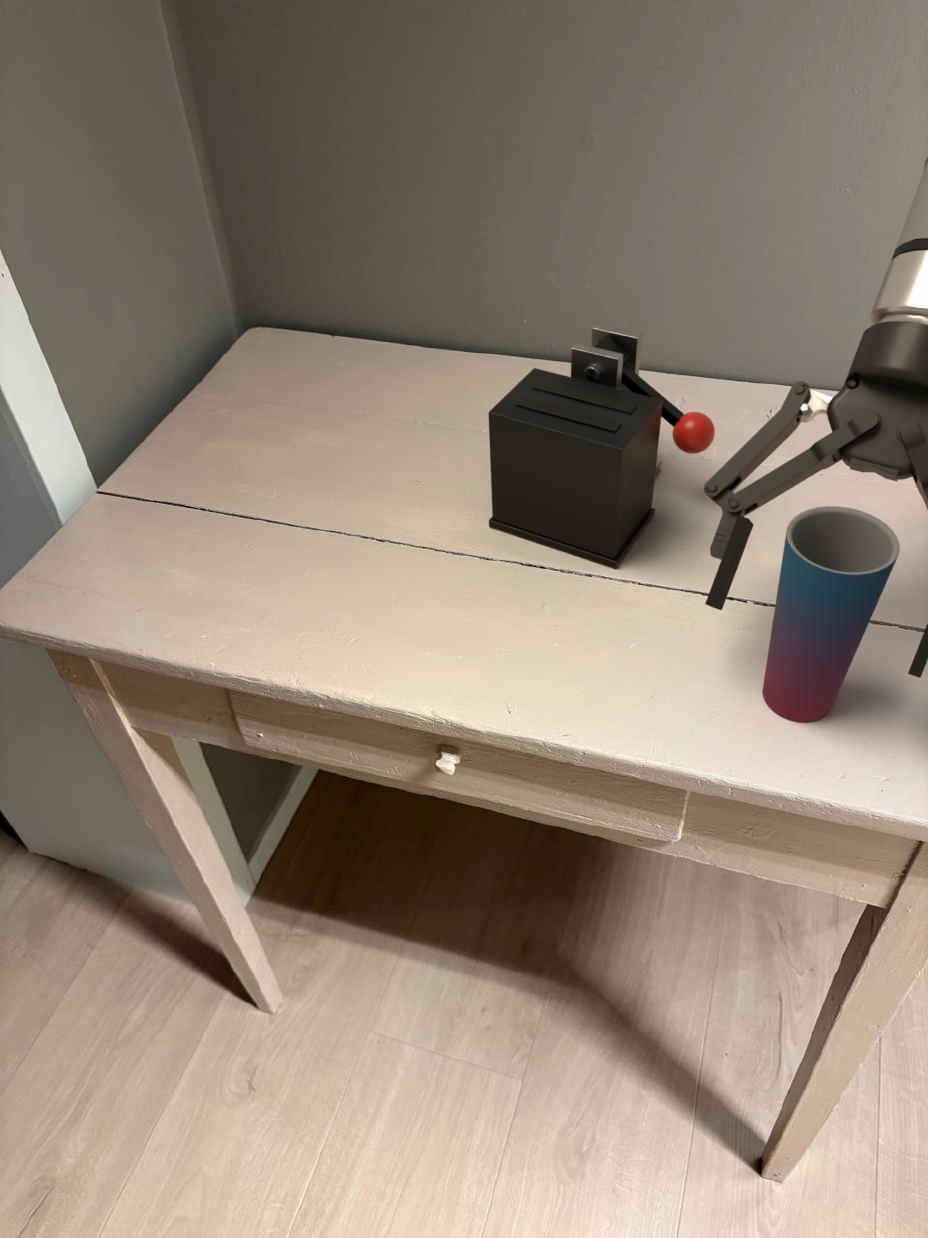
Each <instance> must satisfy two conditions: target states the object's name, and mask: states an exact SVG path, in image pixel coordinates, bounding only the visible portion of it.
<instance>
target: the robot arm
mask: <svg viewBox="0 0 928 1238" xmlns="http://www.w3.org/2000/svg"><path fill="white" fill-rule="evenodd" d="M868 319H869V321H870V324H871V325H870V326H869V327H868V328H866V329H865V330H864V331H863V333H862V334H861V338H860V340H859V343H858V346H857V349H856V351H855V354H854V357H853V359H852V362H851V365H850V367H849V370H848V373H847V376H846V378H845V381H844V383H843V385H842V387H841V388H840V390H839V391H838V392H837V393H836V394H835V395H834V396H830V395H827V394H825V393H822V392H819V391H817V390H813V389H811V388H810V386H809V384H808V383H807V382H805V381H802V380H800V381H796V382H795V383H793V384H792V386H791V387H790V390H789V391H788V393H787V395H786V397H785V400H784V402H783V403H782V405H781V407H780V409H779V410H778V411H777V412H776V413H775V414H774V415H773V416H772V417H771V418H770V419H769V420H768V421H767V422H766V423H764V424H763V426H762V427H761V428H759V430H758V431H757V432H756V433H754V435H753V436H752V437H751V438H749V439H748V440H747V442H746V443H745V444H743V445H742V447H740V449H739V450H737V452H735V454H734V455H733V456H732V457H730V458H729V459H728V460H727V461H726V462H725V463H724V465H722V467H720V468H719V469H718V470H717V471H716V472H715V473H714V474H713V475H712V476H711V477H710V478H709V479H708V480H707V481H706V482H705V483H704V485H703V491H704V493H705V495H706V496H707V497H708V498H709V500H711V501H712V502H713V503H714V504H716V505H718V507H720V508H721V511H722V514H721V517H720V519H719V522H718V526H717V528H716V530H715V534H714V537H713V539H712V542H711V544H710V547H709V550H710V551H709V552H710V554H709V555H710V556H711V557H712V558H713V559H717V560H720V563H719V565H718V568H717V571H716V574H715V575H714V579H713V581H712V585H711V587H710V589H709V592H708V595H707V598H706V600H705V603H704V605H706V606H708V607H710V608H713V609H716V610H718V611H723V607H724V606H725V603H726V600H727V598H728V595H729V592H730V590H731V587H732V584H733V581H734V579H735V576H736V573H737V570H738V568H739V565H740V563H741V560H742V557H743V554H744V552H745V549H746V546H747V544H748V541H749V539H750V536H751V533H752V530H753V528H754V523H753V522H752V521H751V520H750V518H749V517H746V516H748V515H749V514H751V513H753V512H754V511H756V510H758V509H759V508H761V507H763V506H764V505H765V504H766V505H767V504H768V503H769V502H771V501H773V500H774V499H776V498H778V497H779V496H782V495H783V494H784V493H786V492H788V491H790V490H791V489H793V488H794V487H796V486H798V485H799V484H801V483H803V482H805V481H806V480H807V479H809V478H811V477H813V476H814V475H816V474H818V473H819V472H821V471H823V470H826V469H829V468H831V467H832V466H835V465H836V464H837V463H839V462H841V461H842V462H843V463H844V465H846V466H847V467H849V469H850V470H851V471H856V472H858V473H859V472H860V473H874V474H876V475H878V476H880V477H881V478H884V479H885V480H889V481H893V482H896V483H897V482H898V481H901V480H907V479H909V478H912V479H913V481H914V484H915V486H916V489H917V491H918V493H919V494H920V497H921V498H922V501H923V502H924V505H925V507H926V510H928V155H927V156H926V158H925V162H924V167H923V172H922V175H921V177H920V180H919V183H918V186H917V188H916V191H915V194H914V196H913V199H912V202H911V205H910V208H909V210H908V213H907V216H906V219H905V221H904V224H903V227H902V230H901V233H900V235H899V238H898V241H897V243H896V246H895V249H894V252H893V255H892V257H891V259H890V262H889V263H888V266H887V268H886V271H885V273H884V277H883V278H882V282H881V284H880V287H879V290H878V293H877V295H876V298H875V301H874V303H873V306H872V308H871V311H870V314H869V318H868ZM822 414H825V415H826V416H827V421H828V423H829V427H830V429H831V432H830V433H828V434H827V435H825V436H824V437H823V436H822V438H820V439H818V440H817V441H816V442H814V443H813V444H812V445H811V446H810V447H809V448H807V449H806V450H804V451H802V452H801V453H799V454H797V455H796V456H794V457H793V458H790V459H789V460H788V461H786V462H784V463H783V464H781V465H780V466H778V467H776V468H774V469H773V470H771V471H769V472H767V473H766V474H764V475H763V476H762V477H760V478H758V479H756V480H754V481H753V482H752V483H749V484H748V485H747V486H745V487H743V488H742V489H739V491H737V492H735V493H734V491H735V490H736V489H737V488H738V487H739V486H740V485H741V484H742V483H743V482H745V480H746V479H748V478H749V476H750V475H751V474H752V473H753V472H755V471H756V470H757V469H758V468H759V467H760V466H761V465H762V464H763V463H764V462H765V461H766V460H767V459H768V458H769V457H770V456H771V455H772V454H773V453H774V452H775V451H776V450H777V449H778V448H779V447H780V446H781V445H782V444H783V443H784V442H785V441H786V440H788V438H790V436H792V434H793V433H794V432H795V431H796V430H797V429H798V427H799V426H800V425H801V423H804V424H805V423H809V422H812V421H813V420H814V419H815V418H816V417H817V416H818V415H822ZM927 662H928V622H927V623H926V626H925V629H924V631H923V634H922V636H921V638H920V640H919V644H918V646H917V648H916V652H915V654H914V657H913V659H912V661H911V664H910V667H909V670H908V671H907V675H910V676H913V677H916V678H919V679H920V678H921V677H922V675H923V674H924V670H925V668H926V665H927Z"/></svg>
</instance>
